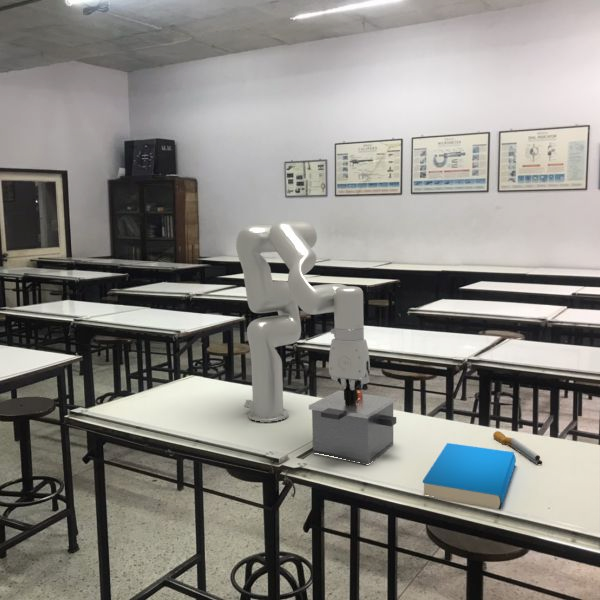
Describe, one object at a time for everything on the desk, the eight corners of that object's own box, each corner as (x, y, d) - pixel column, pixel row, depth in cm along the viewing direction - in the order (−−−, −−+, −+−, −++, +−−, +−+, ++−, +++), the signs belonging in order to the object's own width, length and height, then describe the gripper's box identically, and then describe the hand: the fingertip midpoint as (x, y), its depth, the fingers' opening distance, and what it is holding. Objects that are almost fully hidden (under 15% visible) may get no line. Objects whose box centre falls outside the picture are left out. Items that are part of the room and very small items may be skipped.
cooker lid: (300, 413, 155) (300, 401, 155) (339, 393, 173) (338, 383, 173) (360, 423, 147) (360, 411, 146) (394, 401, 164) (394, 390, 164)
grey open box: (313, 454, 161) (312, 410, 160) (341, 435, 175) (340, 394, 173) (381, 468, 151) (381, 421, 149) (405, 447, 164) (405, 403, 163)
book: (422, 481, 135) (446, 441, 157) (422, 499, 136) (446, 457, 158) (503, 494, 128) (516, 450, 150) (503, 513, 128) (515, 467, 151)
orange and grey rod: (491, 433, 169) (500, 428, 169) (495, 442, 169) (504, 436, 170) (528, 460, 150) (539, 454, 150) (533, 469, 151) (543, 464, 151)
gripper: (316, 334, 158) (318, 403, 161) (369, 339, 151) (370, 411, 153) (330, 330, 165) (332, 396, 167) (381, 334, 157) (382, 403, 159)
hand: (350, 403), depth 160 cm, fingers closed
